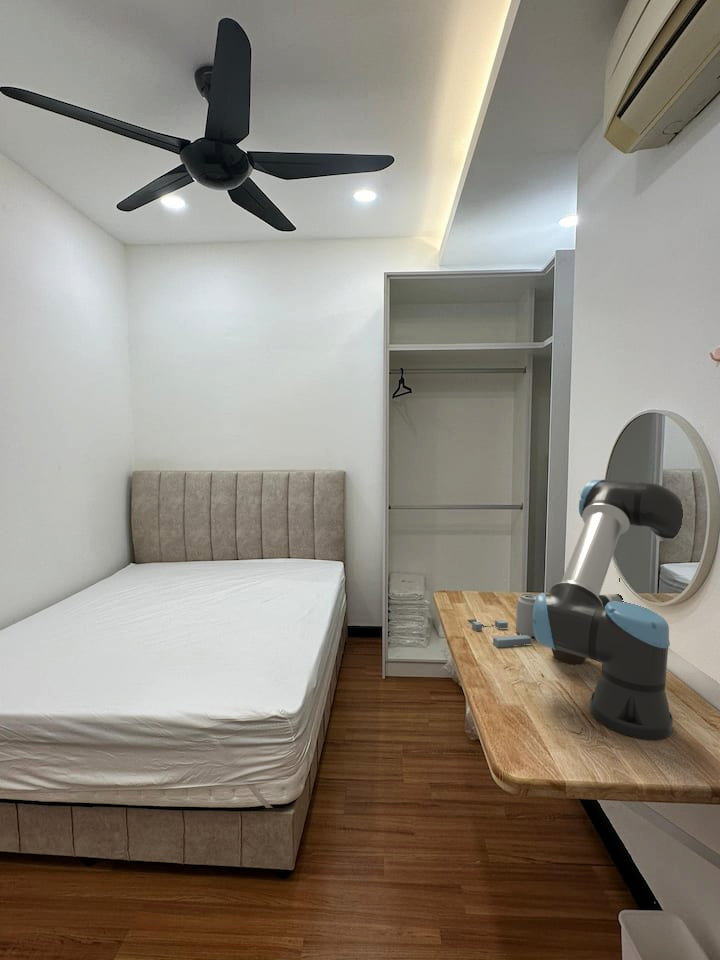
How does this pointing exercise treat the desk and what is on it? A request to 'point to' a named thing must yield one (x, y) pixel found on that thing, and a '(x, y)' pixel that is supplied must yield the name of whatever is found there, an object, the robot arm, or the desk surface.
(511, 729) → the desk surface
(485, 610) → the desk surface
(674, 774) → the desk surface
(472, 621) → the trap square
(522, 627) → the can
